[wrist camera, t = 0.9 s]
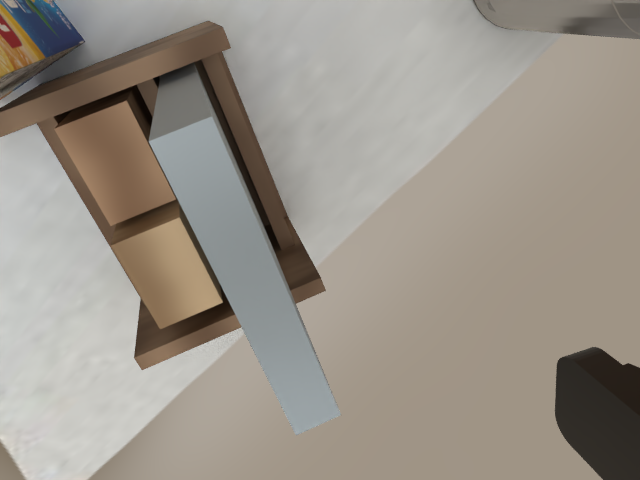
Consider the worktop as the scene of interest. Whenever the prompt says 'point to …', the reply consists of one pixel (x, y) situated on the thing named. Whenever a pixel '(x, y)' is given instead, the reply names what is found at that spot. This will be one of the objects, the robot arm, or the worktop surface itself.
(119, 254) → the offcut
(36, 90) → the rack
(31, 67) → the beverage box
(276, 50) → the worktop surface
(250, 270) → the sheet
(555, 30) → the robot arm
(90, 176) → the offcut
